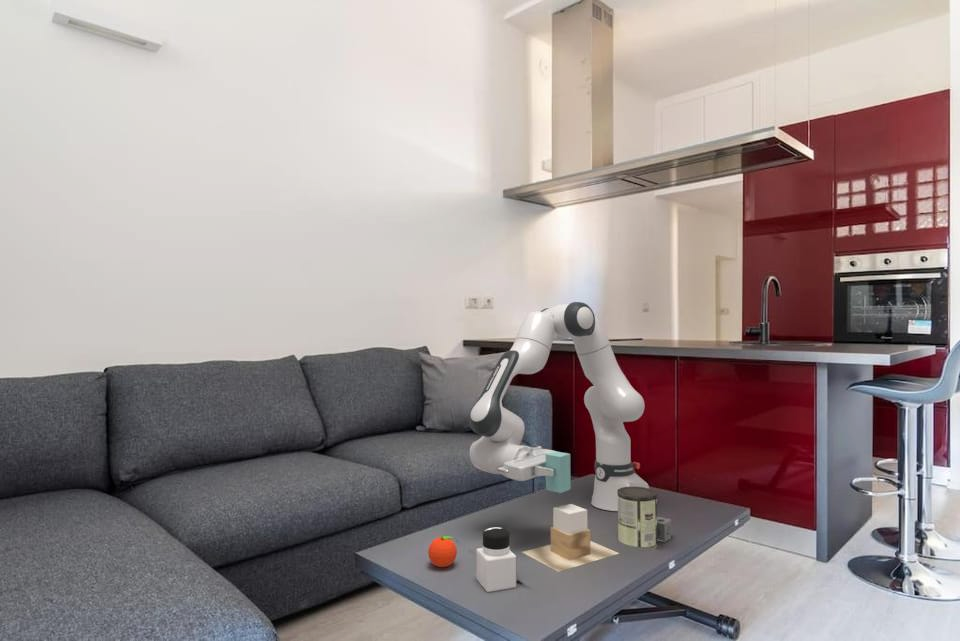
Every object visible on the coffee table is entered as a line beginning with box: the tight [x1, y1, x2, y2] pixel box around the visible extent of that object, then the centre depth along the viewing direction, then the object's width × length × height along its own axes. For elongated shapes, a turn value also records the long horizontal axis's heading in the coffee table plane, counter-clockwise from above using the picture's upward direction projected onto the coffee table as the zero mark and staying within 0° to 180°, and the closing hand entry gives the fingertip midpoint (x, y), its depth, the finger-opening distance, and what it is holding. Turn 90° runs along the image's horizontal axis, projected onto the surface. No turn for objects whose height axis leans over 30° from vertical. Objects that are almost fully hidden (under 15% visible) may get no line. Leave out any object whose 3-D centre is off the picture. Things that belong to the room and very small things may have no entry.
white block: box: [552, 503, 588, 535], centre depth 144 cm, size 6×6×5 cm
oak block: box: [550, 526, 591, 560], centre depth 144 cm, size 7×7×6 cm
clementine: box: [427, 535, 459, 568], centre depth 139 cm, size 8×7×7 cm
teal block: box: [545, 451, 572, 494], centre depth 145 cm, size 4×4×9 cm
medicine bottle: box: [475, 527, 517, 593], centre depth 129 cm, size 7×7×12 cm
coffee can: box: [617, 487, 658, 549], centre depth 152 cm, size 10×10×14 cm
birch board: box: [521, 540, 620, 573], centre depth 143 cm, size 20×14×1 cm
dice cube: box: [657, 516, 673, 541], centre depth 157 cm, size 5×5×5 cm
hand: (561, 470), depth 145 cm, fingers closed on teal block, 4 cm apart
